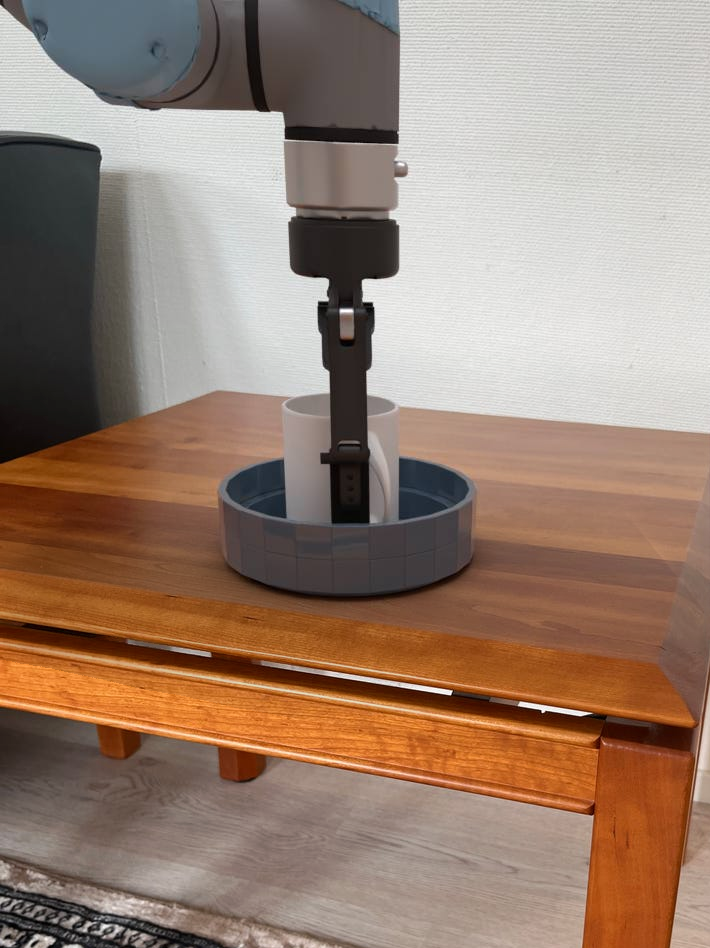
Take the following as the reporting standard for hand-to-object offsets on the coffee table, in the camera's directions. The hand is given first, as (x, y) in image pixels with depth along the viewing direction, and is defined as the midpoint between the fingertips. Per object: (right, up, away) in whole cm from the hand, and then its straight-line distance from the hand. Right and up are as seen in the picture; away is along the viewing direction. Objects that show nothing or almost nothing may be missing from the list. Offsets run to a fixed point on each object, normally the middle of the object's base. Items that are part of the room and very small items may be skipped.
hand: (350, 524), depth 78 cm
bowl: (0, -2, +1) cm, 2 cm away
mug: (0, -2, 0) cm, 2 cm away
